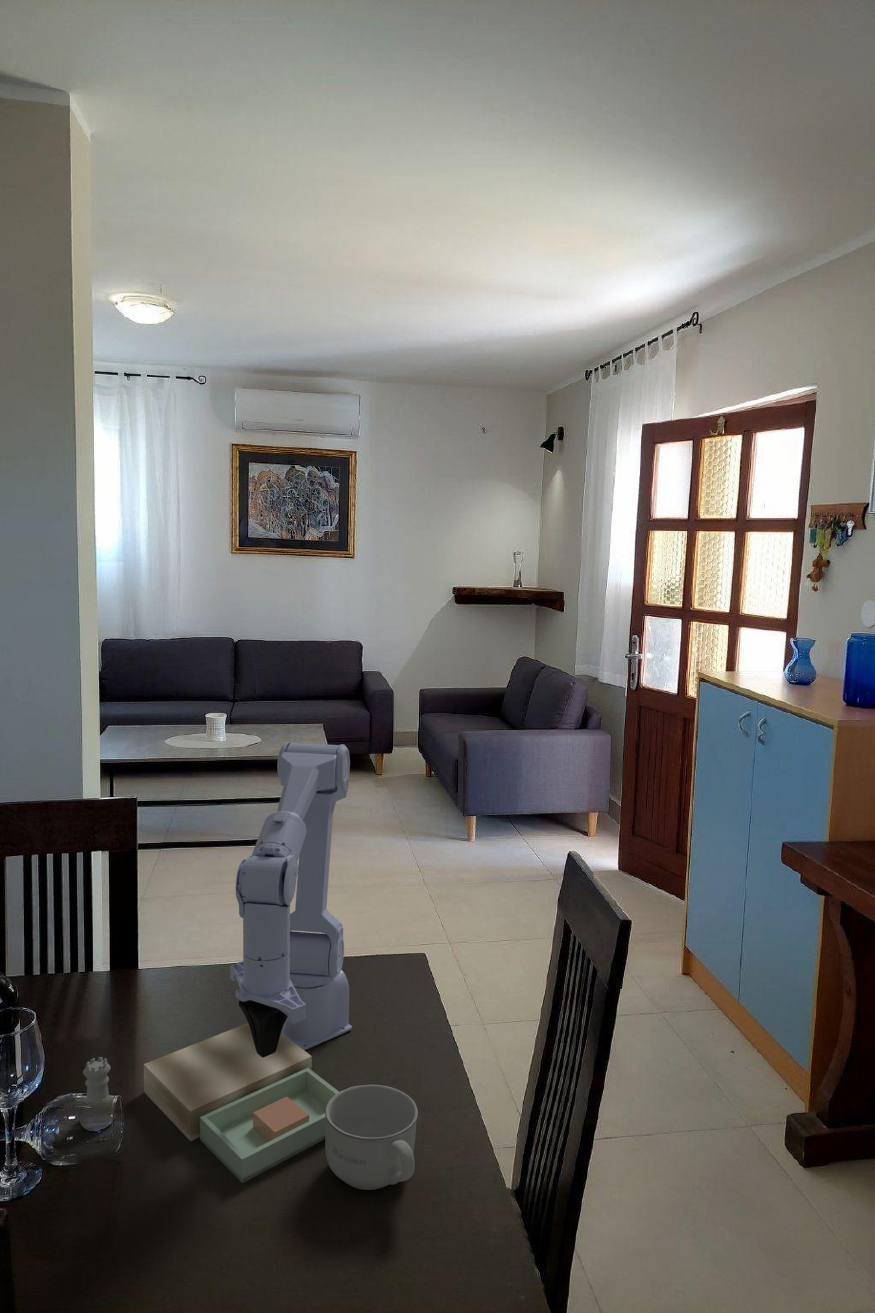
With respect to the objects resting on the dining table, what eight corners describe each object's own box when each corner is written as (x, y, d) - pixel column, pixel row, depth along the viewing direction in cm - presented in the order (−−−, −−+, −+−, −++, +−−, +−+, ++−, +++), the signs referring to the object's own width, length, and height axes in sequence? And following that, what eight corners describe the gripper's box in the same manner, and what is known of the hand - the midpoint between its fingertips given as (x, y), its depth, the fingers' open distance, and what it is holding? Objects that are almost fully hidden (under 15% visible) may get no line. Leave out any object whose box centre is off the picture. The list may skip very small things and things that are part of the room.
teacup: (314, 1153, 107) (314, 1091, 106) (397, 1132, 111) (398, 1072, 110) (348, 1236, 94) (349, 1167, 93) (441, 1208, 99) (443, 1142, 98)
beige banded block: (260, 1043, 130) (260, 1017, 130) (311, 1083, 121) (311, 1056, 120) (144, 1092, 118) (143, 1064, 118) (190, 1141, 109) (190, 1111, 108)
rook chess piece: (104, 1136, 109) (102, 1075, 108) (71, 1130, 110) (69, 1070, 109) (123, 1113, 114) (122, 1055, 113) (92, 1108, 114) (91, 1050, 113)
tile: (309, 1115, 110) (309, 1130, 111) (286, 1096, 114) (286, 1110, 114) (274, 1132, 107) (274, 1147, 107) (253, 1112, 111) (253, 1127, 111)
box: (307, 1088, 120) (307, 1067, 119) (352, 1124, 113) (353, 1102, 112) (199, 1139, 109) (199, 1117, 109) (242, 1183, 102) (242, 1159, 101)
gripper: (208, 939, 112) (209, 1040, 114) (270, 982, 102) (270, 1092, 104) (256, 924, 117) (256, 1021, 119) (320, 964, 107) (319, 1069, 108)
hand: (266, 1052), depth 112 cm, fingers closed
